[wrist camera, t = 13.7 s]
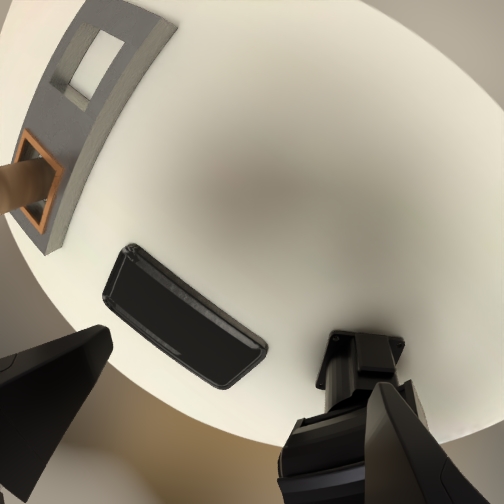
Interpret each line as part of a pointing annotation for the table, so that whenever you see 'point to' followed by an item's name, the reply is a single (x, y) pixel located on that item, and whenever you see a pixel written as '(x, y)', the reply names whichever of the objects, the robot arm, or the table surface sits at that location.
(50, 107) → the plate with square holes
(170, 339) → the phone
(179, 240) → the table surface
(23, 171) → the peg
